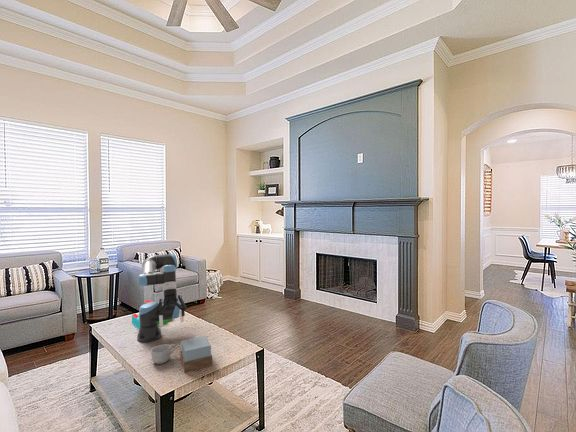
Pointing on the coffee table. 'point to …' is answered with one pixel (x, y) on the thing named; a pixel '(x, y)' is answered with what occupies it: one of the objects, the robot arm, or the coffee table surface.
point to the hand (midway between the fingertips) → (171, 324)
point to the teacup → (162, 353)
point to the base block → (195, 363)
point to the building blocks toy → (137, 319)
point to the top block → (195, 348)
